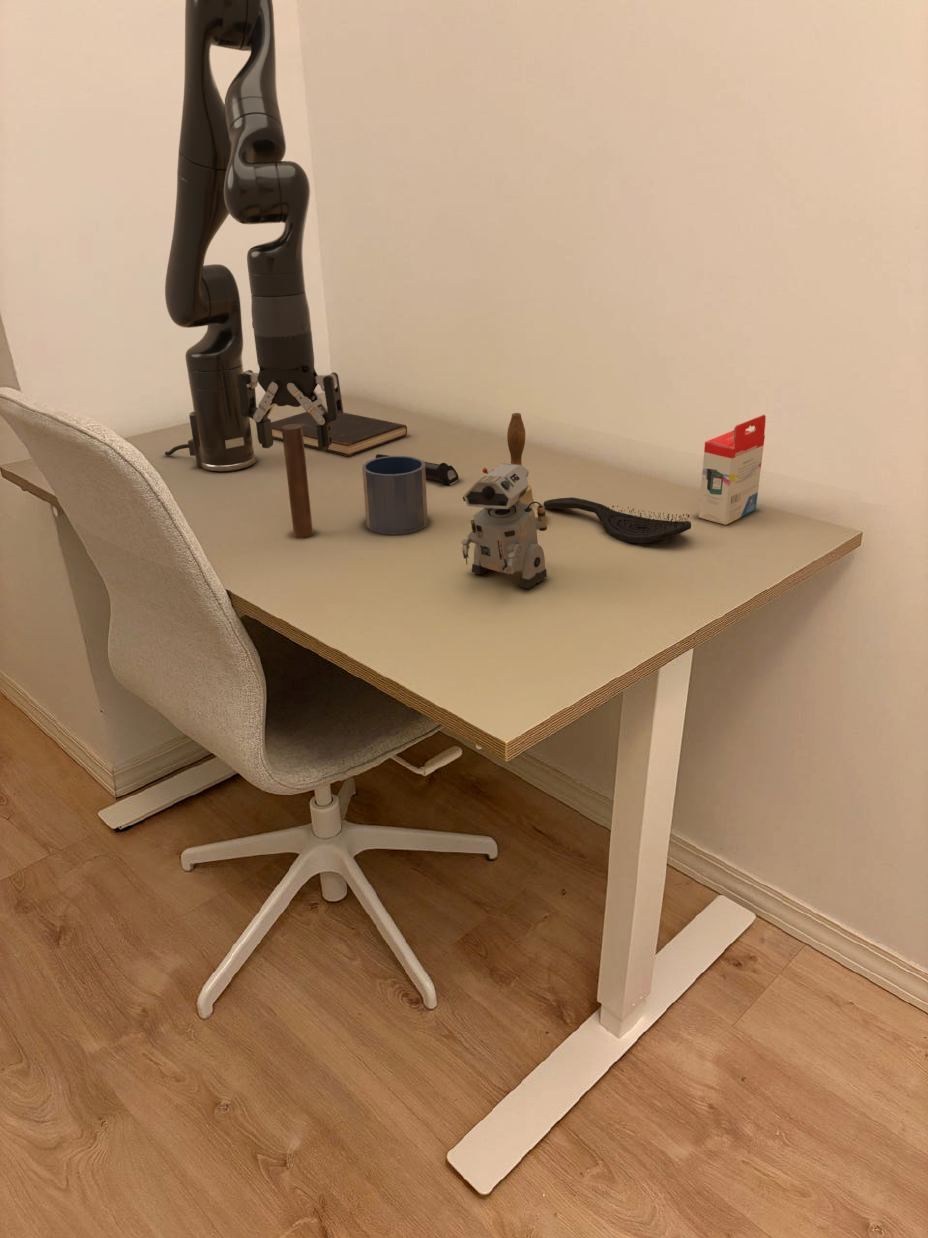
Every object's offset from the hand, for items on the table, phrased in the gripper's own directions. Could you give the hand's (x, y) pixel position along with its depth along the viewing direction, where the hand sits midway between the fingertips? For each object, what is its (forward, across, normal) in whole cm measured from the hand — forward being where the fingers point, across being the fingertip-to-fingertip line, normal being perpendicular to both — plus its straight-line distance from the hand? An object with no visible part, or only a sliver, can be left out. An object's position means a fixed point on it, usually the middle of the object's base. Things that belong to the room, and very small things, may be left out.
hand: (295, 448), depth 135 cm
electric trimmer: (+13, -8, -28) cm, 32 cm away
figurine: (+13, -32, +10) cm, 36 cm away
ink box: (+14, -59, -21) cm, 64 cm away
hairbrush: (+13, -43, -13) cm, 47 cm away
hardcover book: (+13, +15, -48) cm, 52 cm away
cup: (+13, -12, -7) cm, 19 cm away
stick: (+13, 0, 0) cm, 13 cm away
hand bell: (+13, -29, -12) cm, 34 cm away
